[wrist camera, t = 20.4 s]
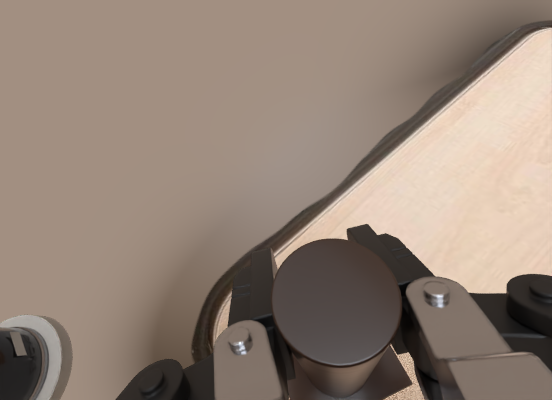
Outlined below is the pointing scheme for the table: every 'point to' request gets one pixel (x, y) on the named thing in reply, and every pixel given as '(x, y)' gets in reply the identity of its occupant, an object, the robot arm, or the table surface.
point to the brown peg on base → (339, 322)
